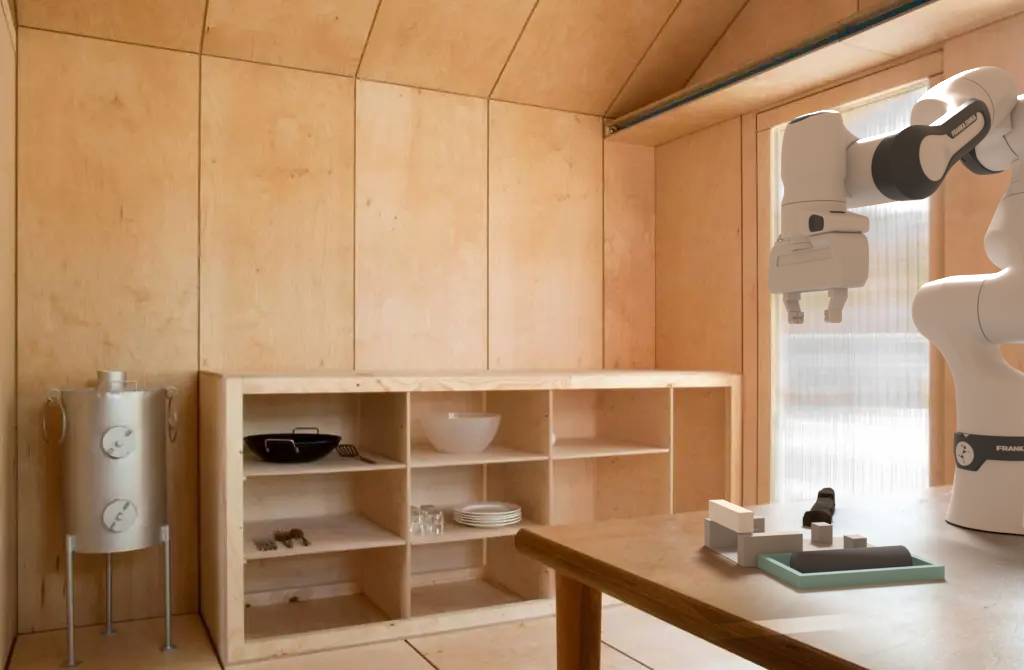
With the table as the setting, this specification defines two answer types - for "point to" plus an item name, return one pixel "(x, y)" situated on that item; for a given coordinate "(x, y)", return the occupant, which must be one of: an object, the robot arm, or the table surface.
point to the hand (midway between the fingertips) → (813, 323)
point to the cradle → (773, 541)
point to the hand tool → (821, 508)
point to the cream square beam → (731, 516)
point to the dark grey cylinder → (850, 559)
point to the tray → (849, 573)
